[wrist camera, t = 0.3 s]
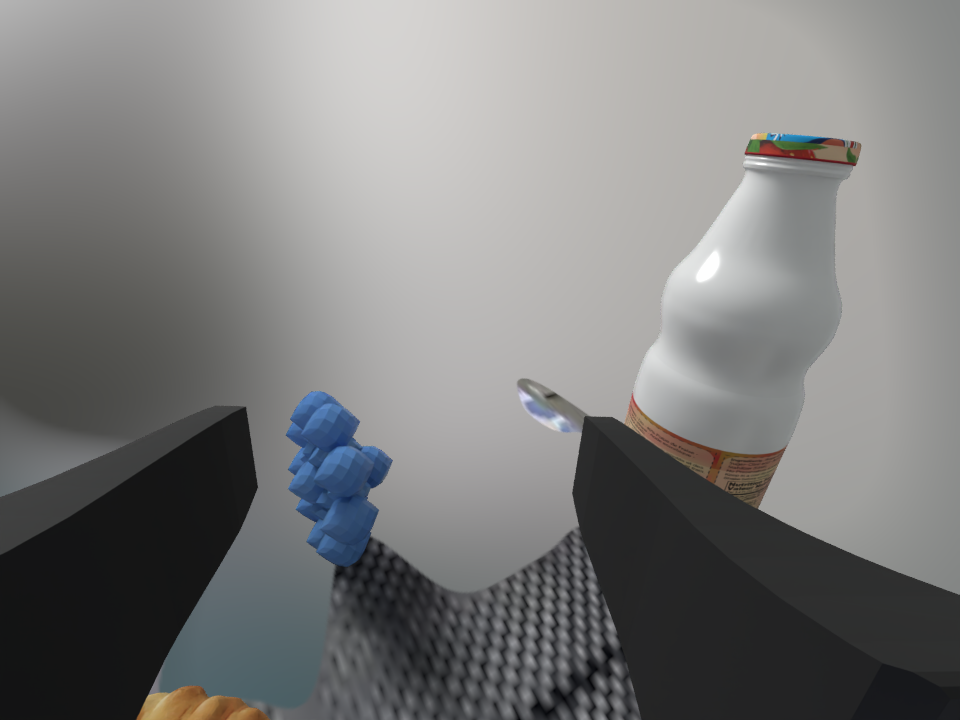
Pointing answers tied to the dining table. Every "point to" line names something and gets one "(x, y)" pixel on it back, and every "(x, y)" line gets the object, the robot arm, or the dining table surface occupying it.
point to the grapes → (334, 477)
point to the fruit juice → (748, 318)
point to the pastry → (196, 707)
